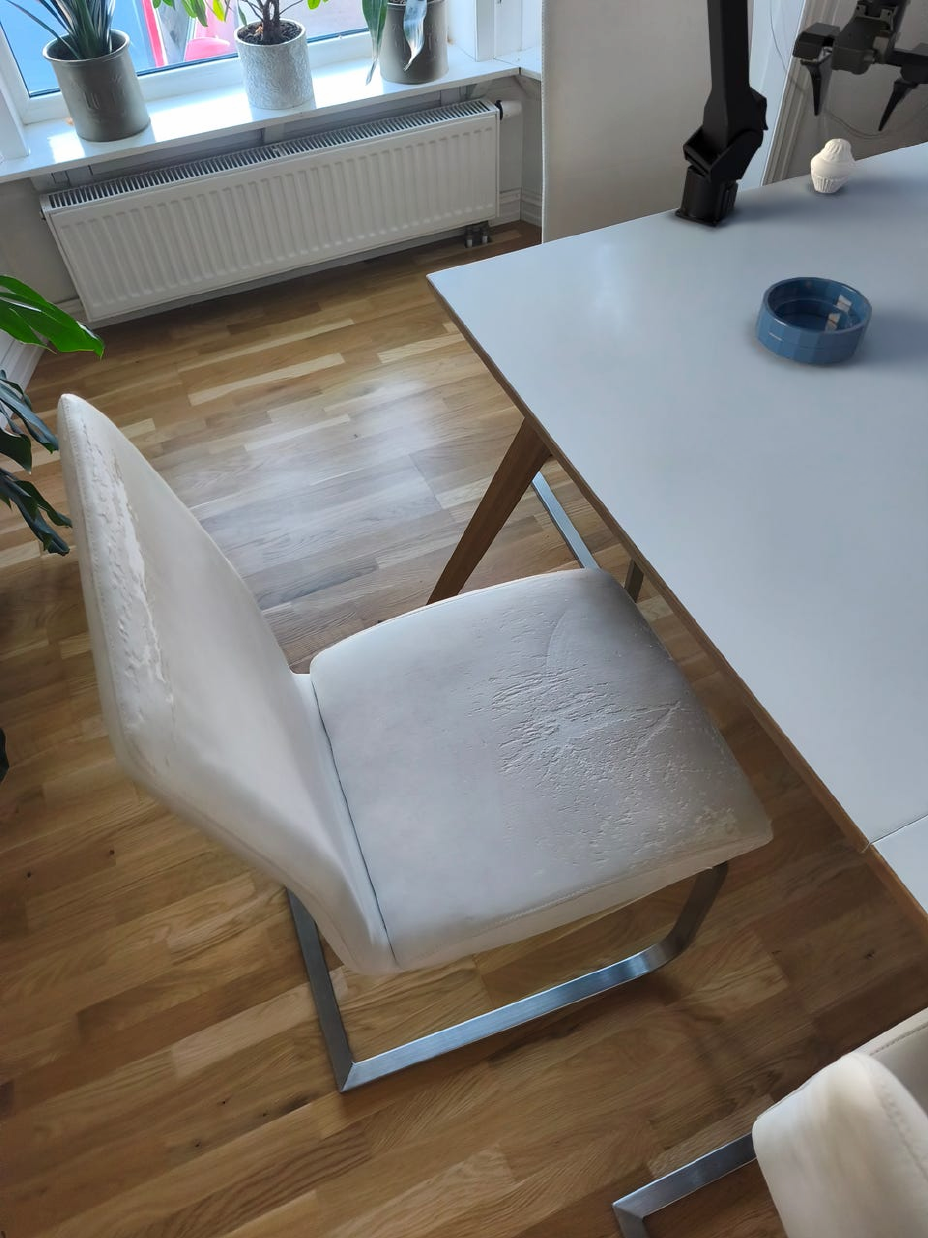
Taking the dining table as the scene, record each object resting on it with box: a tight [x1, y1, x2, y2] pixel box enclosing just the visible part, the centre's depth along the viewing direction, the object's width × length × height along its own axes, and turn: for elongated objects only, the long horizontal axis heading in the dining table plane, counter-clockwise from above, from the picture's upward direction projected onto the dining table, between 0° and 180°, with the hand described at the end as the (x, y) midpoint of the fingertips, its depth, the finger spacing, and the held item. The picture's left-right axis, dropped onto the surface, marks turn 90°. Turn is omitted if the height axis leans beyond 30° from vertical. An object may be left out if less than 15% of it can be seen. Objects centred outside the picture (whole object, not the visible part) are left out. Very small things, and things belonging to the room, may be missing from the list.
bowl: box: [754, 276, 873, 364], centre depth 101 cm, size 12×12×4 cm
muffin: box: [810, 138, 856, 194], centre depth 124 cm, size 6×6×7 cm
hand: (848, 122), depth 119 cm, fingers open, 9 cm apart
